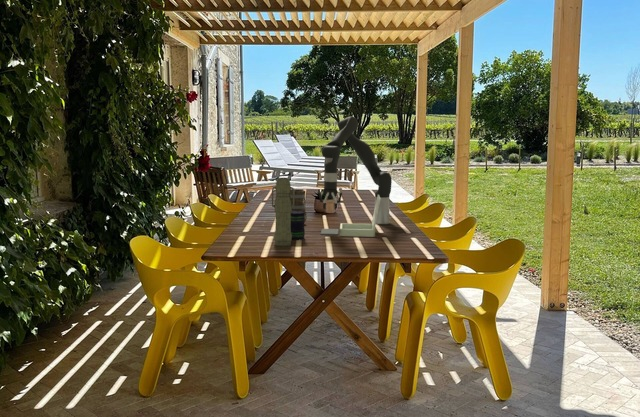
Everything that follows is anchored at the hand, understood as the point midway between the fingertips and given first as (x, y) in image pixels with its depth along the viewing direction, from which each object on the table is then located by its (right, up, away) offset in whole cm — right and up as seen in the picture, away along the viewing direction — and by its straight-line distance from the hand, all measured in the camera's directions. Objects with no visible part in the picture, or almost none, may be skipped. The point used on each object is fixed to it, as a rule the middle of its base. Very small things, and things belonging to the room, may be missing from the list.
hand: (330, 209), depth 337 cm
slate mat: (0, -14, +2) cm, 14 cm away
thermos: (-25, -19, -34) cm, 47 cm away
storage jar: (-19, -16, -18) cm, 31 cm away
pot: (0, -2, 0) cm, 2 cm away
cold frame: (+17, -14, +1) cm, 22 cm away
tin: (-22, -10, +28) cm, 37 cm away
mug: (-23, -1, +89) cm, 92 cm away
